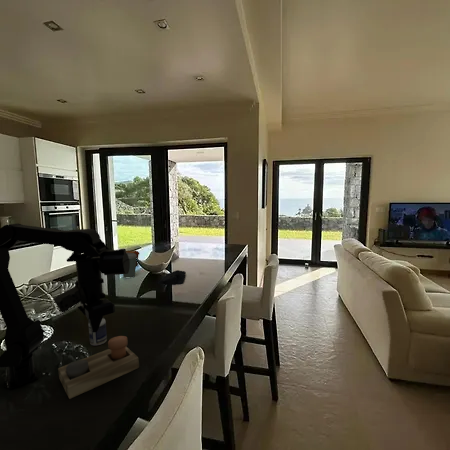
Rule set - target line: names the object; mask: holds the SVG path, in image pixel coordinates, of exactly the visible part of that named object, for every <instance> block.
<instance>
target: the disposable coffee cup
mask: <svg viewBox="0 0 450 450" xmlns="http://www.w3.org/2000/svg"><path fill="white" fill-rule="evenodd" d="M127 255H128V258H129V259H130V269H129V272H128V274H122V276H123V278H124V277H133V276H134V277H135V276H136V268H137V267H136V257H137V255H136V254H135V253H127ZM134 277H133V278H134Z"/></svg>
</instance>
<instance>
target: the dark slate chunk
mask: <svg viewBox="0 0 450 450" xmlns="http://www.w3.org/2000/svg"><path fill="white" fill-rule="evenodd" d="M186 274H187V273H186V271H184V270H179V269H178V270H175V271H172V272H169V273H167V274H165V275H164V277H162V278H160V280H159V281H158V282H157V283H156V284H157V285H159V284H165V285H164V286H176V285H178V286H179V285H183V284H184V282H185V279H186Z"/></svg>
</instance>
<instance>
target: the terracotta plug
mask: <svg viewBox="0 0 450 450" xmlns="http://www.w3.org/2000/svg"><path fill="white" fill-rule="evenodd" d="M127 346H128V337H127V336H125V335H118V336H114V337H111V338H110V339H109V340H108V341H107V347H108V349H110V350H111V357H112V359H120V358H123V357H124V356H125V355H126V347H127Z"/></svg>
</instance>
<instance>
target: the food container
mask: <svg viewBox="0 0 450 450" xmlns="http://www.w3.org/2000/svg"><path fill="white" fill-rule="evenodd" d="M126 253H135V254H136V255H137V257H136V258H137V259H138V260H139V256H140V252H139V251H138V250H126ZM137 265H139V262H138V263H137V261H136V266H137ZM137 267H138V266H137Z"/></svg>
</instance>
